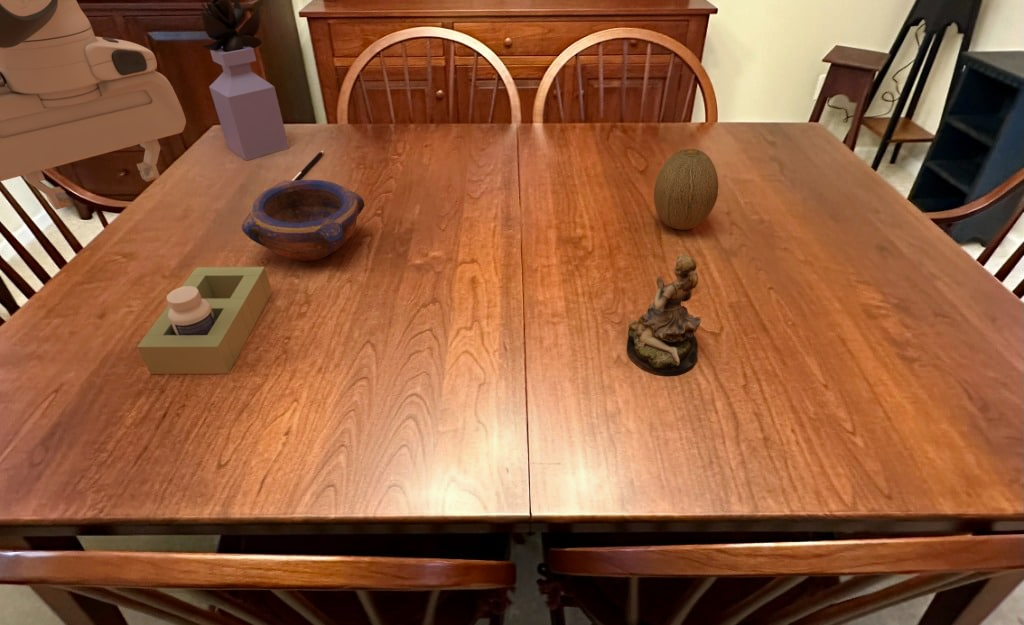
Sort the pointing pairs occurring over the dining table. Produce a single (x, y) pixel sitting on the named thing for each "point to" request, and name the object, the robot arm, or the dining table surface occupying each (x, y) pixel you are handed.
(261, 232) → the bowl
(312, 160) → the pen
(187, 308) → the pill bottle
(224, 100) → the vase
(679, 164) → the fruit
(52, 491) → the dining table surface
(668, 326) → the figurine
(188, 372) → the compartment tray
